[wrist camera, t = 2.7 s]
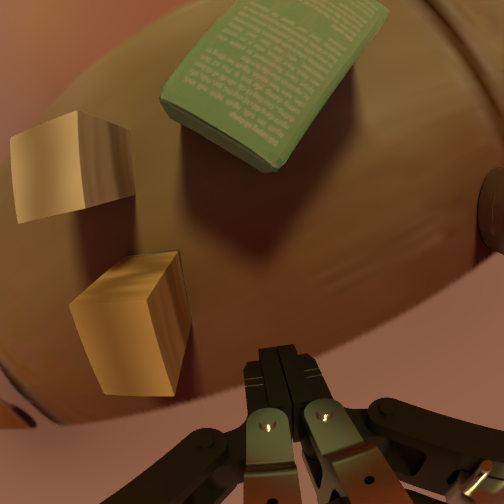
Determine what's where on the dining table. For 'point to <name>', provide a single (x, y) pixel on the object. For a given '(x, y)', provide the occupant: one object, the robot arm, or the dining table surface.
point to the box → (268, 73)
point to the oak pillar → (136, 324)
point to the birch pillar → (70, 166)
